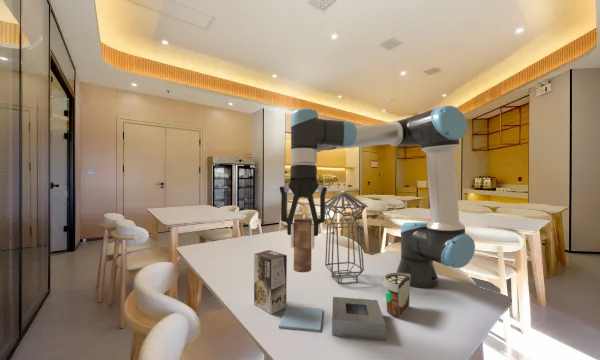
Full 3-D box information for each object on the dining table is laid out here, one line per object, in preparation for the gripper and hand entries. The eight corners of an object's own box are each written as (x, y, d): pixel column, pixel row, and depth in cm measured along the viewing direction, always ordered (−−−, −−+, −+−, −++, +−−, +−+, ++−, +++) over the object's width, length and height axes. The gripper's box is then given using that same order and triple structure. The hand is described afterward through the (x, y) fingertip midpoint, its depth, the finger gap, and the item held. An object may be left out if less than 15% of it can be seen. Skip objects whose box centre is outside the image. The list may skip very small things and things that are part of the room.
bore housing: (377, 313, 76) (377, 300, 76) (385, 340, 63) (385, 324, 63) (332, 310, 78) (333, 296, 78) (331, 335, 65) (332, 319, 65)
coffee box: (287, 307, 79) (287, 255, 79) (270, 314, 75) (271, 259, 75) (269, 297, 86) (269, 249, 86) (252, 304, 81) (253, 252, 81)
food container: (391, 299, 85) (391, 269, 85) (410, 305, 81) (410, 273, 81) (376, 314, 76) (376, 280, 76) (397, 321, 72) (397, 285, 72)
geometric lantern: (331, 288, 94) (330, 192, 95) (320, 274, 109) (319, 192, 110) (371, 285, 97) (370, 192, 98) (355, 271, 112) (353, 191, 113)
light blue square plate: (322, 310, 77) (322, 308, 77) (320, 331, 66) (320, 329, 66) (286, 307, 79) (286, 305, 79) (278, 327, 68) (278, 325, 68)
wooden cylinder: (312, 267, 75) (312, 218, 75) (310, 272, 70) (310, 221, 70) (295, 266, 75) (295, 218, 76) (292, 271, 71) (292, 220, 71)
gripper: (335, 165, 75) (334, 245, 75) (276, 165, 78) (274, 242, 78) (335, 163, 68) (334, 252, 68) (269, 163, 71) (268, 248, 70)
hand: (302, 246), depth 73 cm, fingers closed on wooden cylinder, 5 cm apart
